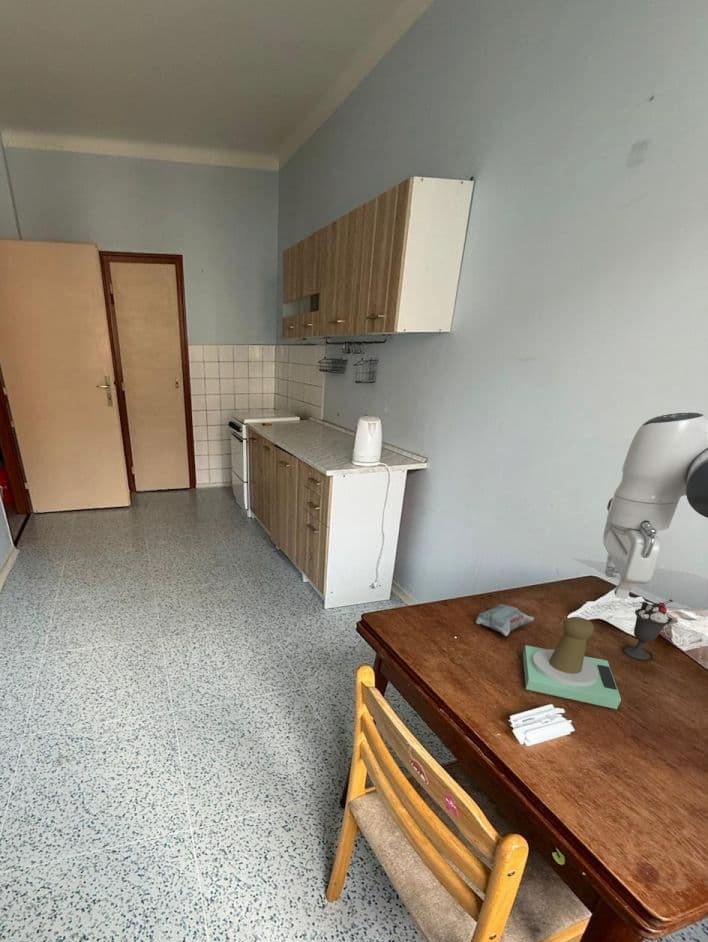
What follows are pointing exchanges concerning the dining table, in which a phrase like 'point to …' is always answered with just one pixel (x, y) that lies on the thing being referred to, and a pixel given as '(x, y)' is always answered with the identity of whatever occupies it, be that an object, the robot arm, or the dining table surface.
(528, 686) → the scale
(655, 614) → the sundae
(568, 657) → the dark olive tapered piece
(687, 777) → the dining table surface
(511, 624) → the packaged food
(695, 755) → the dining table surface
